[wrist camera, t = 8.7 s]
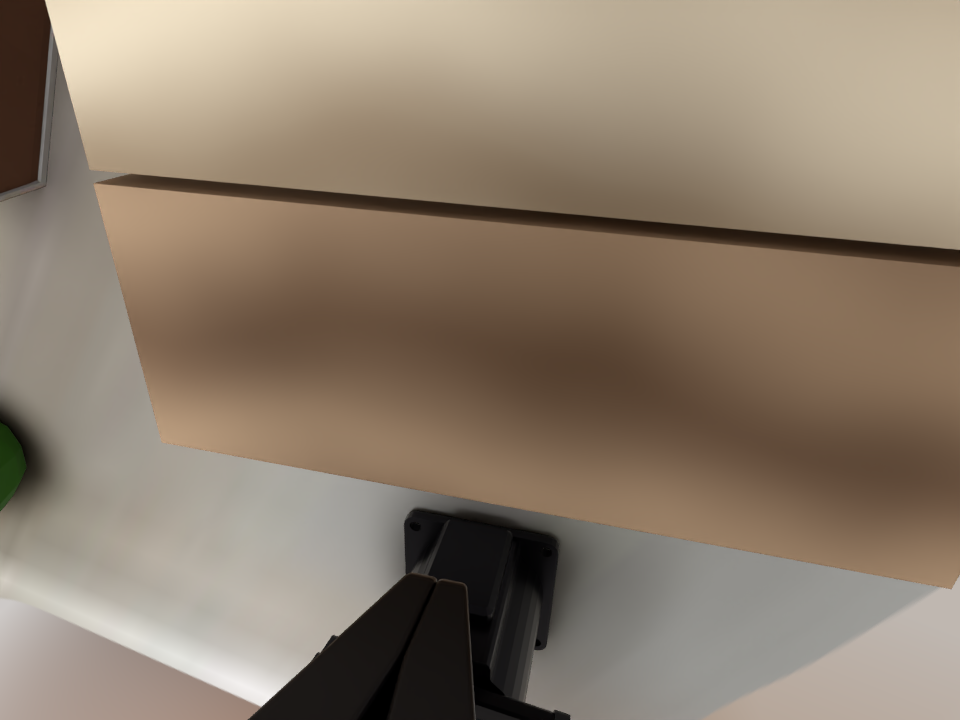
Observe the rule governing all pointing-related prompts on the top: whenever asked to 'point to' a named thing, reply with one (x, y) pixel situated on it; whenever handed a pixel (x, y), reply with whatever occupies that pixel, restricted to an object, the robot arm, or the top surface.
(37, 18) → the food container
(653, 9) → the pale plank
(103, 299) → the top surface
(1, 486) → the bell pepper
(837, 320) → the floor platform
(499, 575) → the robot arm
